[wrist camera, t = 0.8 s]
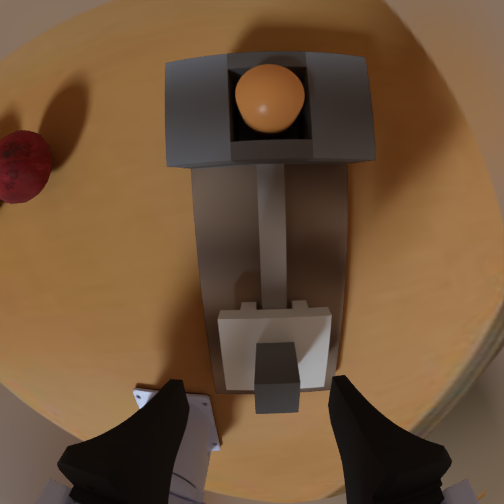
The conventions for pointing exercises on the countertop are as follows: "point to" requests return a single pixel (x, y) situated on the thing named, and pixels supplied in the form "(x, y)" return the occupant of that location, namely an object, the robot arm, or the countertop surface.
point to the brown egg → (269, 100)
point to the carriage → (275, 352)
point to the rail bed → (269, 185)
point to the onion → (23, 166)
